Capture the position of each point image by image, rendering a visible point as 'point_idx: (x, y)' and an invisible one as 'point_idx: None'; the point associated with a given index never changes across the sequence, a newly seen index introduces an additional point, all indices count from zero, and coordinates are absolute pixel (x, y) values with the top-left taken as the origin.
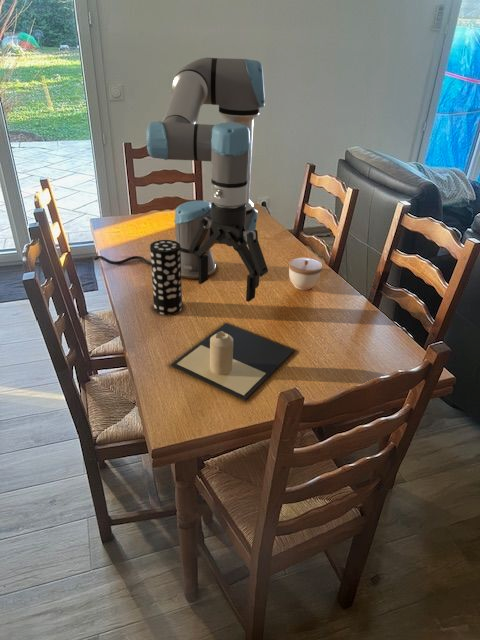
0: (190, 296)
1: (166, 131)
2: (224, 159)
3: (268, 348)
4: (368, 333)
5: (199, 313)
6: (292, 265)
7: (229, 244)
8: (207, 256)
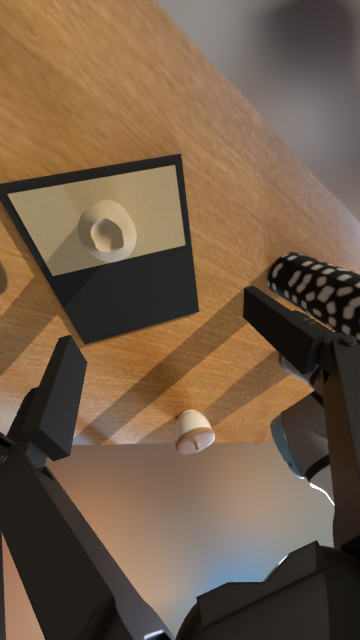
0: None
1: None
2: None
3: (109, 319)
4: None
5: (242, 298)
6: (206, 433)
7: (217, 625)
8: (301, 371)
